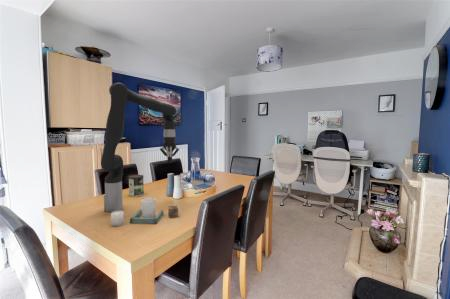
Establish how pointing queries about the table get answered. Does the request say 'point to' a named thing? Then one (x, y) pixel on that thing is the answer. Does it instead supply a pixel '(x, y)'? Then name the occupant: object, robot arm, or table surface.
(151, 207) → the white cup
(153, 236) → the table surface
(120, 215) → the white rounded block
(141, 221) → the display frame
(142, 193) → the coffee can
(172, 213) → the walnut block
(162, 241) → the table surface
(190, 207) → the table surface
